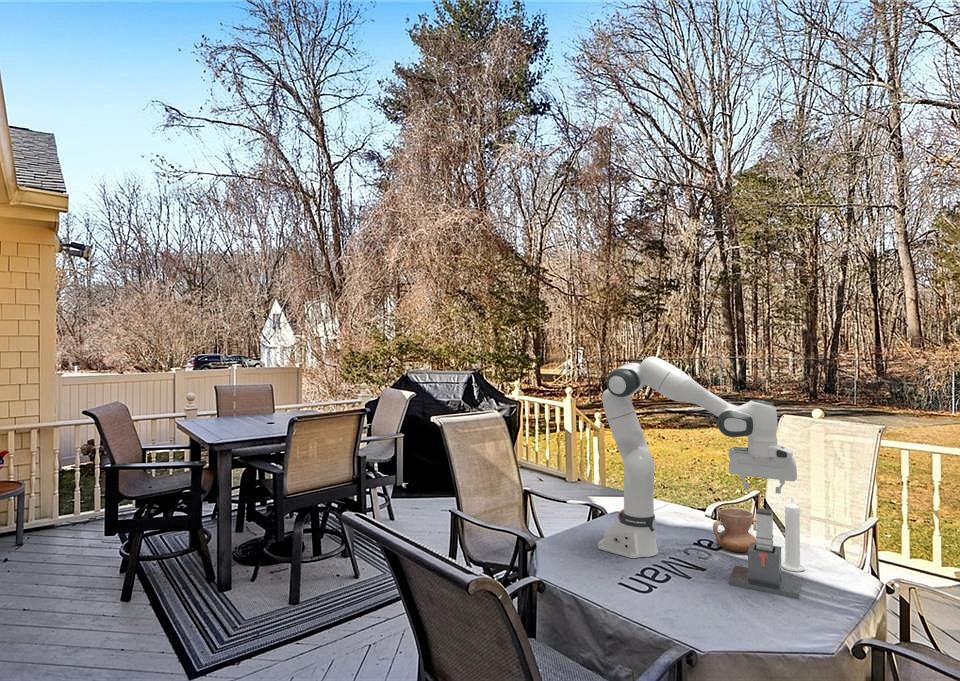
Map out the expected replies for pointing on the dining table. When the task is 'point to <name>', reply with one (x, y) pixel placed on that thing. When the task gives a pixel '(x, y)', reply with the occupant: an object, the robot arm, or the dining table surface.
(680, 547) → the dining table surface
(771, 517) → the column
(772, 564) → the stand housing
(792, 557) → the candle
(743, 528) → the ceramic jug
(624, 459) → the robot arm
